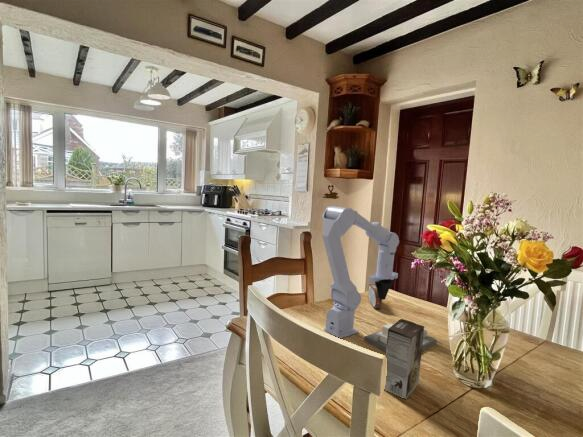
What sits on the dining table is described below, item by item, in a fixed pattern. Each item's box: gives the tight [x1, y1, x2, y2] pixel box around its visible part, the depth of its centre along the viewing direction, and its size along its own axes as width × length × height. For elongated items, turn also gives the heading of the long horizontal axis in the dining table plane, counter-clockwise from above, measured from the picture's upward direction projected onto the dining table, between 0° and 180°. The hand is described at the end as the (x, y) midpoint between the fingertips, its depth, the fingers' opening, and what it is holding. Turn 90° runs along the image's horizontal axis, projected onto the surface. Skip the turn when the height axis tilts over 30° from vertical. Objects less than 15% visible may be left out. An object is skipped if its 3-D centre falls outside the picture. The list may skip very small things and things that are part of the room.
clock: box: [368, 283, 383, 309], centre depth 144 cm, size 15×3×8 cm, turn 179°
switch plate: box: [364, 329, 438, 353], centre depth 110 cm, size 20×14×4 cm
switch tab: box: [380, 323, 394, 344], centre depth 106 cm, size 5×5×5 cm
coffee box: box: [384, 318, 425, 400], centre depth 84 cm, size 9×6×16 cm
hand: (381, 298), depth 124 cm, fingers closed
